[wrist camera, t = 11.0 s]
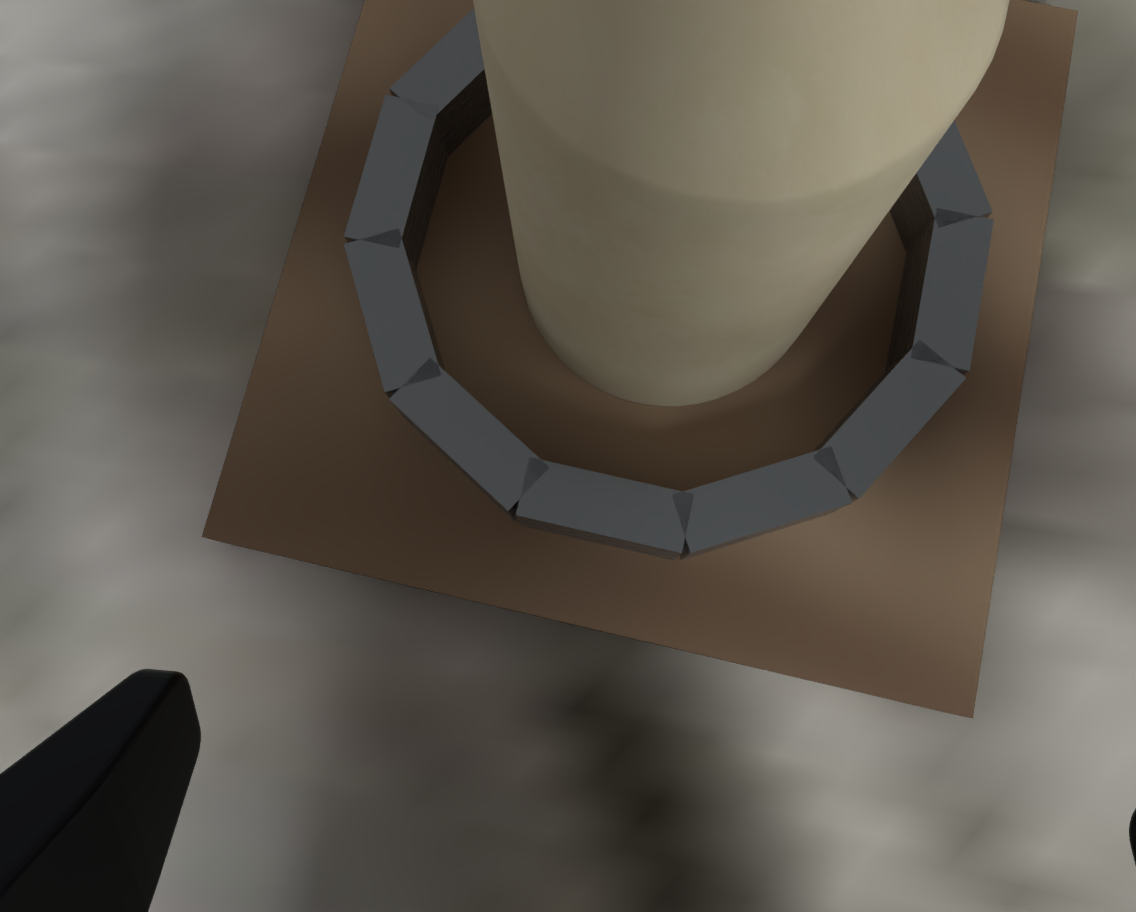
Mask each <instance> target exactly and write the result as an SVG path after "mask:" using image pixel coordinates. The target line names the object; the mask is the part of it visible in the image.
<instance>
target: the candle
mask: <svg viewBox="0 0 1136 912" xmlns="http://www.w3.org/2000/svg"><path fill="white" fill-rule="evenodd" d="M473 3H474V9H475V15H476V22H477V27H478V33H479V39H480V45H481V51H482V57H483V63H484V68H485V74H486V80H487V86H488V92H489V97H490V103H491V109H492V115H493V121H494V126H495V132H496V138H497V144H498V150H499V155H500V161H501V167H502V173H503V179H504V184H505V190H506V196H507V202H508V208H509V213H510V219H511V225H512V231H513V237H514V242H515V248H516V254H517V260H518V266H519V271H520V276H521V281H522V285H523V289H524V293H525V297H526V301H527V304H528V308H529V310H530V313H531V315H532V317H533V320H534V322H535V324H536V326H537V328H538V330H539V331H540V333H541V335H542V336H543V338H544V340H545V341H546V343H547V344H548V345H549V346H550V348H551V349H552V350H553V351H554V353H555V354H556V355H557V356H558V358H559V359H560V360H561V361H562V362H563V363H564V364H565V365H566V366H567V367H568V368H569V369H570V370H571V371H572V372H574V373H575V374H576V375H578V376H579V377H580V378H582V379H583V380H584V381H586V382H587V383H589V384H590V385H592V386H594V387H596V388H598V389H599V390H601V391H603V392H605V393H607V394H610V395H612V396H615V397H617V398H620V399H623V400H627V401H630V402H634V403H638V404H643V405H651V406H659V407H679V406H687V405H695V404H700V403H704V402H708V401H711V400H715V399H718V398H720V397H723V396H725V395H728V394H730V393H733V392H735V391H737V390H739V389H741V388H742V387H744V386H746V385H748V384H749V383H751V382H753V381H755V380H756V379H757V378H759V377H760V376H761V375H763V374H764V373H765V372H766V371H768V370H769V369H770V368H771V367H772V366H773V365H774V364H775V363H776V362H777V361H778V360H779V359H780V358H781V357H782V356H783V355H784V354H785V353H786V351H787V350H788V349H789V348H790V346H791V345H792V344H793V343H794V341H795V340H796V339H797V337H798V336H799V335H800V334H801V332H802V331H803V330H804V328H805V327H806V326H807V324H808V323H809V321H810V320H811V319H812V317H813V316H814V314H815V313H816V312H817V310H818V309H819V307H820V306H821V305H822V303H823V302H824V301H825V299H826V298H827V296H828V295H829V294H830V292H831V291H832V289H833V288H834V287H835V285H836V284H837V282H838V281H839V280H840V278H841V277H842V276H843V274H844V273H845V271H846V270H847V269H848V267H849V266H850V264H851V263H852V262H853V260H854V259H855V257H856V256H857V255H858V253H859V252H860V251H861V249H862V248H863V246H864V245H865V244H866V242H867V241H868V239H869V238H870V237H871V235H872V234H873V232H874V231H875V230H876V228H877V227H878V226H879V224H880V223H881V221H882V220H883V219H884V217H885V216H886V214H887V213H888V212H889V210H890V209H891V207H892V206H893V205H894V203H895V202H896V200H897V199H898V198H899V196H900V195H901V194H902V192H903V191H904V189H905V188H906V187H907V185H908V184H909V182H910V181H911V180H912V178H913V177H914V175H915V174H916V173H917V171H918V170H919V169H920V167H921V166H922V164H923V163H924V162H925V160H926V159H927V157H928V156H929V155H930V153H931V152H932V150H933V149H934V148H935V146H936V145H937V144H938V142H939V141H940V139H941V138H942V137H943V135H944V134H945V132H946V131H947V130H948V128H949V127H950V125H951V124H952V123H953V121H954V120H955V118H956V117H957V116H958V114H959V113H960V111H961V110H962V109H963V107H964V106H965V105H966V103H967V102H968V100H969V99H970V97H971V96H972V95H973V93H974V92H975V90H976V89H977V87H978V85H979V83H980V82H981V80H982V78H983V76H984V74H985V72H986V71H987V69H988V67H989V65H990V63H991V62H992V59H993V57H994V54H995V51H996V49H997V46H998V43H999V41H1000V38H1001V35H1002V32H1003V29H1004V25H1005V20H1006V15H1007V10H1008V5H1009V0H473Z"/></svg>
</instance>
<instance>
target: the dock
mask: <svg viewBox="0 0 1136 912" xmlns="http://www.w3.org/2000/svg"><path fill="white" fill-rule="evenodd" d="M1077 14H1078V11H1076V10H1070V9H1065V8H1060V7H1055V6H1050V5H1044V4H1039V3H1034V2H1029V1H1024V0H1009V5H1008V10H1007V15H1006V20H1005V25H1004V29H1003V32H1002V35H1001V38H1000V41H999V43H998V46H997V49H996V51H995V54H994V57H993V59H992V62H991V63H990V65H989V67H988V69H987V71H986V72H985V74H984V76H983V78H982V80H981V82H980V83H979V85H978V87H977V89H976V90H975V92H974V93H973V95H972V96H971V97H970V99H969V100H968V102H967V103H966V105H965V106H964V107H963V109H962V110H961V111H960V113H959V114H958V116H957V117H956V118H955V120H954V121H953V123H952V124H951V125H950V127H949V128H948V130H947V131H946V132H945V134H944V135H943V137H942V138H941V139H940V141H939V142H938V144H937V145H936V146H935V148H934V149H933V150H932V152H931V153H930V155H929V156H928V157H927V159H926V160H925V162H924V163H923V164H922V166H921V167H920V169H919V170H918V171H917V173H916V174H915V175H914V177H913V178H912V180H911V181H910V182H909V184H908V185H907V187H906V188H905V189H904V191H903V192H902V194H901V195H900V196H899V198H898V199H897V200H896V202H895V203H894V205H893V206H892V207H891V209H890V210H889V212H888V213H887V214H886V216H885V217H884V219H883V220H882V221H881V223H880V224H879V226H878V227H877V228H876V230H875V231H874V232H873V234H872V235H871V237H870V238H869V239H868V241H867V242H866V244H865V245H864V246H863V248H862V249H861V251H860V252H859V253H858V255H857V256H856V257H855V259H854V260H853V262H852V263H851V264H850V266H849V267H848V269H847V270H846V271H845V273H844V274H843V276H842V277H841V278H840V280H839V281H838V282H837V284H836V285H835V287H834V288H833V289H832V291H831V292H830V294H829V295H828V296H827V298H826V299H825V301H824V302H823V303H822V305H821V306H820V307H819V309H818V310H817V312H816V313H815V314H814V316H813V317H812V319H811V320H810V321H809V323H808V324H807V326H806V327H805V328H804V330H803V331H802V332H801V334H800V335H799V336H798V337H797V339H796V340H795V341H794V343H793V344H792V345H791V346H790V348H789V349H788V350H787V351H786V353H785V354H784V355H783V356H782V357H781V358H780V359H779V360H778V361H777V362H776V363H775V364H774V365H773V366H772V367H771V368H770V369H769V370H768V371H766V372H765V373H764V374H763V375H761V376H760V377H759V378H757V379H756V380H755V381H753V382H751V383H749V384H748V385H746V386H744V387H742V388H741V389H739V390H737V391H735V392H733V393H730V394H728V395H725V396H723V397H720V398H718V399H715V400H711V401H708V402H704V403H700V404H695V405H687V406H679V407H659V406H651V405H643V404H638V403H634V402H630V401H627V400H623V399H620V398H617V397H615V396H612V395H610V394H607V393H605V392H603V391H601V390H599V389H598V388H596V387H594V386H592V385H590V384H589V383H587V382H586V381H584V380H583V379H582V378H580V377H579V376H578V375H576V374H575V373H574V372H572V371H571V370H570V369H569V368H568V367H567V366H566V365H565V364H564V363H563V362H562V361H561V360H560V359H559V358H558V356H557V355H556V354H555V353H554V351H553V350H552V349H551V348H550V346H549V345H548V344H547V343H546V341H545V340H544V338H543V336H542V335H541V333H540V331H539V330H538V328H537V326H536V324H535V322H534V320H533V317H532V315H531V313H530V310H529V308H528V304H527V301H526V297H525V293H524V289H523V285H522V281H521V276H520V271H519V266H518V260H517V254H516V248H515V242H514V237H513V231H512V225H511V219H510V213H509V208H508V202H507V196H506V190H505V184H504V179H503V173H502V167H501V161H500V155H499V150H498V144H497V138H496V132H495V126H494V121H493V115H492V109H491V103H490V97H489V92H488V86H487V80H486V74H485V68H484V63H483V57H482V51H481V45H480V39H479V33H478V27H477V22H476V15H475V9H474V3H473V0H365V1H364V4H363V7H362V10H361V14H360V17H359V20H358V24H357V27H356V30H355V34H354V37H353V40H352V43H351V47H350V50H349V53H348V57H347V60H346V63H345V66H344V70H343V73H342V76H341V80H340V83H339V86H338V90H337V93H336V96H335V99H334V103H333V106H332V109H331V113H330V116H329V119H328V123H327V126H326V129H325V132H324V136H323V139H322V142H321V146H320V149H319V152H318V156H317V159H316V162H315V165H314V169H313V172H312V175H311V179H310V182H309V185H308V188H307V192H306V195H305V198H304V202H303V205H302V208H301V212H300V215H299V218H298V221H297V225H296V228H295V231H294V235H293V238H292V241H291V245H290V248H289V251H288V254H287V258H286V261H285V264H284V268H283V271H282V274H281V277H280V281H279V284H278V287H277V291H276V294H275V297H274V301H273V304H272V307H271V310H270V314H269V317H268V320H267V324H266V327H265V330H264V334H263V337H262V340H261V343H260V347H259V350H258V353H257V357H256V360H255V363H254V367H253V370H252V373H251V376H250V380H249V383H248V386H247V390H246V393H245V396H244V399H243V403H242V406H241V409H240V413H239V416H238V419H237V423H236V426H235V429H234V432H233V436H232V439H231V442H230V446H229V449H228V452H227V456H226V459H225V462H224V465H223V469H222V472H221V475H220V479H219V482H218V485H217V488H216V492H215V495H214V498H213V502H212V505H211V508H210V512H209V515H208V518H207V521H206V525H205V528H204V531H203V535H202V537H205V538H209V539H212V540H216V541H220V542H224V543H228V544H232V545H237V546H241V547H245V548H249V549H254V550H258V551H262V552H266V553H271V554H275V555H279V556H283V557H288V558H292V559H296V560H300V561H305V562H309V563H313V564H317V565H322V566H326V567H330V568H334V569H339V570H343V571H347V572H351V573H356V574H360V575H364V576H368V577H373V578H377V579H381V580H385V581H390V582H394V583H398V584H402V585H407V586H411V587H415V588H419V589H424V590H428V591H432V592H436V593H440V594H445V595H449V596H453V597H457V598H462V599H466V600H470V601H474V602H479V603H483V604H487V605H491V606H496V607H500V608H504V609H508V610H513V611H517V612H521V613H525V614H530V615H534V616H538V617H542V618H547V619H551V620H555V621H559V622H564V623H568V624H572V625H576V626H581V627H585V628H589V629H593V630H598V631H602V632H606V633H610V634H615V635H619V636H623V637H627V638H632V639H636V640H640V641H644V642H649V643H653V644H657V645H661V646H666V647H670V648H674V649H678V650H683V651H687V652H691V653H695V654H700V655H704V656H708V657H712V658H717V659H721V660H725V661H729V662H733V663H738V664H742V665H746V666H750V667H755V668H759V669H763V670H767V671H772V672H776V673H780V674H784V675H789V676H793V677H797V678H801V679H806V680H810V681H814V682H818V683H823V684H827V685H831V686H835V687H840V688H844V689H848V690H852V691H857V692H861V693H865V694H869V695H874V696H878V697H882V698H886V699H891V700H895V701H899V702H903V703H908V704H912V705H916V706H920V707H925V708H929V709H933V710H937V711H942V712H946V713H950V714H955V715H960V716H964V717H969V718H973V713H974V707H975V700H976V693H977V686H978V680H979V673H980V666H981V659H982V653H983V646H984V639H985V633H986V626H987V619H988V612H989V606H990V599H991V592H992V586H993V579H994V572H995V565H996V559H997V552H998V545H999V538H1000V532H1001V525H1002V518H1003V512H1004V505H1005V498H1006V491H1007V485H1008V478H1009V471H1010V465H1011V458H1012V451H1013V444H1014V438H1015V431H1016V424H1017V418H1018V411H1019V404H1020V397H1021V391H1022V384H1023V377H1024V370H1025V364H1026V357H1027V350H1028V344H1029V337H1030V330H1031V323H1032V317H1033V310H1034V303H1035V297H1036V290H1037V283H1038V276H1039V270H1040V263H1041V256H1042V250H1043V243H1044V236H1045V229H1046V223H1047V216H1048V209H1049V202H1050V196H1051V189H1052V182H1053V176H1054V169H1055V162H1056V155H1057V149H1058V142H1059V135H1060V129H1061V122H1062V115H1063V108H1064V102H1065V95H1066V88H1067V81H1068V75H1069V68H1070V61H1071V55H1072V48H1073V41H1074V34H1075V28H1076V21H1077Z"/></svg>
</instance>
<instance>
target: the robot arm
mask: <svg viewBox="0 0 1136 912" xmlns="http://www.w3.org/2000/svg"><path fill="white" fill-rule="evenodd" d="M200 742H201V730H200V725H199V721H198V717H197V713H196V709H195V705H194V701H193V697H192V693H191V689H190V685H189V682H188V679H187V678H186V677H185V675H183V674H182V673H180V672H177V671H166V670H155V669H142V670H139V671H137V672H135V673H133V674H131V675H130V676H128V677H127V678H126V679H124V680H123V681H122V682H121V683H119V684H118V685H117V686H115V687H114V688H113V689H111V690H110V691H109V692H107V693H106V694H105V695H103V696H102V697H101V698H100V699H98V700H97V701H96V702H94V703H93V704H92V705H90V706H89V707H88V708H86V709H85V710H84V711H82V712H81V713H80V714H78V715H77V716H76V717H75V718H73V719H72V720H71V721H69V722H68V723H67V724H65V725H64V726H63V727H61V728H60V729H59V730H57V731H56V732H55V733H53V734H52V735H51V736H50V737H48V738H47V739H46V740H44V741H43V742H42V743H40V744H39V745H38V746H36V747H35V748H34V749H32V750H31V751H30V752H28V753H27V754H26V755H25V756H23V757H22V758H21V759H19V760H18V761H17V762H15V763H14V764H13V765H11V766H10V767H9V768H7V769H6V770H5V771H3V772H2V773H1V774H0V912H148V910H149V907H150V904H151V901H152V899H153V896H154V893H155V890H156V887H157V884H158V881H159V877H160V874H161V871H162V868H163V865H164V862H165V858H166V855H167V852H168V849H169V846H170V843H171V839H172V836H173V833H174V830H175V827H176V824H177V821H178V817H179V814H180V811H181V808H182V805H183V802H184V798H185V795H186V792H187V789H188V786H189V783H190V779H191V776H192V773H193V770H194V767H195V764H196V760H197V757H198V754H199V749H200ZM1129 837H1130V844H1131V849H1132V853H1133V857H1134V861H1135V865H1136V809H1135V811H1134V812H1133V814H1132V817H1131V821H1130V826H1129Z"/></svg>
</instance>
